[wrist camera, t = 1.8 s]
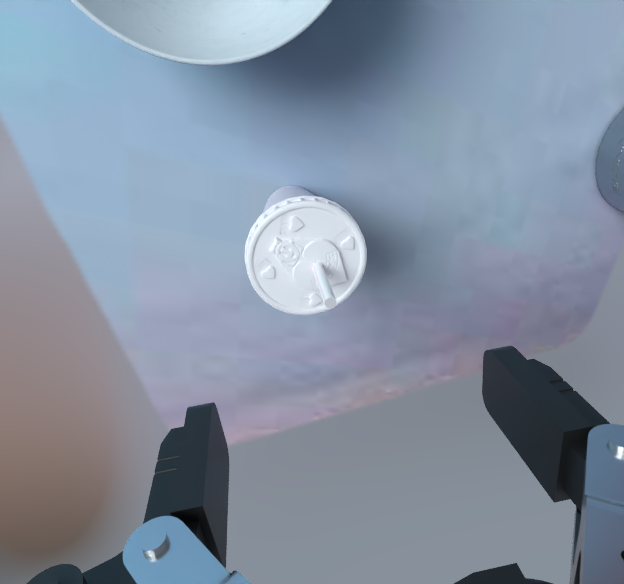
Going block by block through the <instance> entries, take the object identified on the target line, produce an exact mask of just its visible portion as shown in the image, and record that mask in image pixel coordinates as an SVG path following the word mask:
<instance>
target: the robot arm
mask: <svg viewBox="0 0 624 584" xmlns="http://www.w3.org/2000/svg"><path fill="white" fill-rule="evenodd" d="M596 178H597V183H598V187H599V189H600V192H601V194H602V196H603V197H604V198H605V199H606V201H607V202H608V203H609V204H610V205H612V206H613V207H615V208H616V209H618V210H621V211H623V212H624V108H623V109H622V111H621V112H620V113H619V114H618V115H617V117H616V118H615V119H614V120H613V122H612V123H611V125H610V127H609V128H608V130H607V131H606V133H605V135H604V138H603V140H602V143H601V145H600V147H599V152H598V156H597V160H596ZM482 394H483V400H484V404H485V406H486V408H487V411H488V412H489V414H490V415H491V417H492V418H493V419H494V421H495V422H496V424H497V425H498V426H499V428H500V429H501V430H502V432H503V433H504V434H505V436H506V437H507V439H508V440H509V441H510V443H511V444H512V445H513V447H514V448H515V450H516V451H517V452H518V453H519V455H520V456H521V458H522V459H523V461H524V462H525V463H526V465H527V466H528V467H529V469H530V470H531V471H532V473H533V474H534V476H535V477H536V478H537V480H538V481H539V482H540V484H541V485H542V487H543V488H544V489H545V491H546V492H547V493H548V495H549V496H550V497H551V499H552V500H553V502H558V501H563V500H568V499H571V500H572V501H573V503H574V504H575V505H576V511H575V520H574V532H573V547H572V560H571V573H570V584H624V426H623V425H616V424H610V423H609V422H608V421H607V420H606V419H605V418H604V417H603V416H602V415H600V414H599V413H598V412H597V411H596V410H595V409H594V408H593V407H592V406H591V405H590V404H589V403H588V402H587V401H586V400H585V399H584V398H583V397H581V396H580V395H579V394H578V393H577V392H576V391H573V388H572V387H571V386H570V385H569V384H568V383H567V382H565V381H563V379H562V378H561V377H560V376H559V375H558V374H557V373H556V372H555V371H554V370H553V369H552V368H551V367H549V366H547V365H545V364H543V363H541V362H539V361H537V360H535V359H530V360H527V359H526V358H525V357H524V356H523V355H522V354H521V353H520V352H519V351H518V350H517V349H516V348H515V347H513V346H506V347H501V348H496V349H491V350H486V351H485V353H484V357H483V386H482ZM228 482H229V454H228V448H227V443H226V439H225V436H224V432H223V429H222V425H221V422H220V418H219V414H218V411H217V408H216V405H215V403H214V402H213V403H208V404H203V405H198V406H193V407H188V408H187V412H186V418H185V424H184V427H180V428H174V429H171V430H170V432H169V433H168V435H167V436H166V437H165V439H164V440H163V442H162V443H161V446H160V450H159V455H158V462H157V464H156V468H155V475H154V478H153V482H152V487H151V491H150V496H149V500H148V505H147V509H146V514H145V518H144V522H143V525H141V526H140V527H139V528H138V529H136V530H135V531H134V533H133V534H132V535H131V536H130V538H129V539H128V541H127V543H126V544H125V547H124V550H123V551H122V552H121V553H120V554H118V555H117V556H115V557H114V558H112V559H110V560H108V561H106V562H104V563H102V564H100V565H98V566H96V567H94V568H92V569H90V570H88V571H86V572H84V573H81V571H80V569H79V568H77V567H76V566H74V565H70V564H61V565H57V566H53V567H50V568H49V569H46V570H44V571H43V572H41V573H39V574H38V575H37V576H35V577H34V578H33V579H31V580H30V581H29V582H28V583H27V584H250V583H249V581H248V580H247V579H246V578H245V577H244V576H243V575H241V574H240V573H239V572H237V571H233V572H232V573H230V572H228V571H227V570H226V545H227V515H228V485H229V483H228ZM454 584H552V583H549V582H545V581H541V580H535V579H527V578H525V577H524V575H523V574H522V572H521V570H520V568H519V567H518V565H517V563H515V564H510V565H506V566H501V567H497V568H493V569H488V570H484V571H479V572H475V573H472V574H470V575H468V576H467V577H465V578H463V579H461V580H460V581H458V582H456V583H454Z"/></svg>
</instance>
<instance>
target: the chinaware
mask: <svg viewBox="0 0 624 584" xmlns="http://www.w3.org/2000/svg"><path fill="white" fill-rule="evenodd" d="M71 1H72V2H73V3H74V4H75V5H76V6H77V7H78V8H79V9H80V10H81V11H82V12H83V13H85V14H86V15H87V16H88V17H89V18H90V19H92V20H93V21H94V22H95V23H97V24H98V25H99V26H101V27H102V28H103V29H105V30H106V31H108V32H109V33H111V34H112V35H114V36H115V37H117V38H119V39H120V40H122V41H124V42H126V43H128V44H129V45H131V46H133V47H135V48H137V49H140V50H142V51H144V52H147V53H149V54H152V55H154V56H157V57H160V58H164V59H167V60H171V61H175V62H180V63H186V64H194V65H225V64H233V63H238V62H243V61H247V60H251V59H254V58H257V57H260V56H262V55H265V54H267V53H270V52H272V51H274V50H276V49H278V48H280V47H281V46H283V45H285V44H286V43H288V42H290V41H291V40H293V39H294V38H295V37H297V36H298V35H299V34H301V33H302V32H303V31H304V30H306V29H307V28H308V27H309V26H310V25H311V24H312V23H313V22H314V21H315V20H316V19H317V18H318V17H319V16H320V15H321V14H322V13H323V12H324V11H325V10H326V8H327V7H328V6H329V5H330V3H331V2H332V1H333V0H71Z"/></svg>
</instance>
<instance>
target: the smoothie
mask: <svg viewBox="0 0 624 584" xmlns="http://www.w3.org/2000/svg"><path fill="white" fill-rule="evenodd" d="M366 262H367V248H366V243H365V240H364V237H363V234H362V232H361V230H360V228H359V226H358V223H357V222H356V221H355V220H354V218H353V217H352V216H351V215H350V213H349V212H348V211H347V210H345V209H344V208H343V207H341V206H340V205H338V204H337V203H336V202H333V201H330V200H328V199H325V198H322V197H317V196H315V195H313V194H312V193H310V192H309V191H307V190H305V189H304V188H302V187H299V186H284V187H281V188H279V189H277V190H276V191H275V192H273V193H272V195H271V196H270V197H269V199H268V200H267V203H266V206H265V208H264V211H263V214H262V215H260V216H259V218H258V219H257V221H256V222H255V224H254V225H253V227H252V228H251V230H250V232H249V235H248V238H247V241H246V244H245V263H246V267H247V273H248V276H249V279H250V282H251V284H252V286H253V287H254V289H255V291H256V292H257V293H258V294H259V296H260V297H261V298H262V299H263V300H264V301H266V302H267V303H268V304H270V305H271V306H273V307H274V308H276V309H278V310H281V311H283V312H287V313H290V314H297V315H311V314H317V313H321V312H325V311H327V310H330V309H332V308H334V307H336V306H337V305H339V304H341V303H342V302H343V301H345V300H346V299H347V298H348V297H349V296H350V295H351V294H352V293H353V292H354V290H355V289H356V288H357V286H358V285H359V283H360V281H361V279H362V277H363V274H364V271H365V268H366Z"/></svg>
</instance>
